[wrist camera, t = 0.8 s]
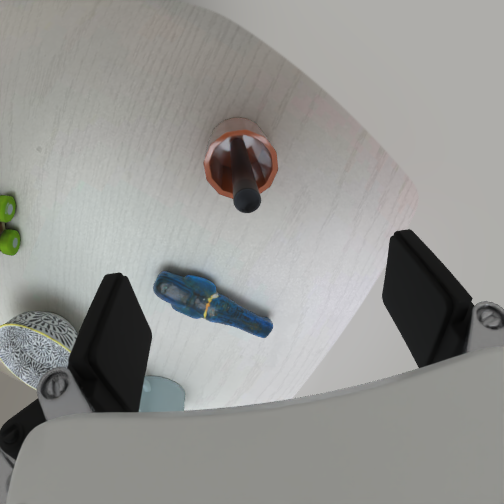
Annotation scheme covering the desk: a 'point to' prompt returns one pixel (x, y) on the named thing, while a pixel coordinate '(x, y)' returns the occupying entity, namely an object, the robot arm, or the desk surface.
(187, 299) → the figurine
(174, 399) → the mug
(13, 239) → the toy car
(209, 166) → the pen pot
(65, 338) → the bowl
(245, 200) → the stylus
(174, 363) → the desk surface
